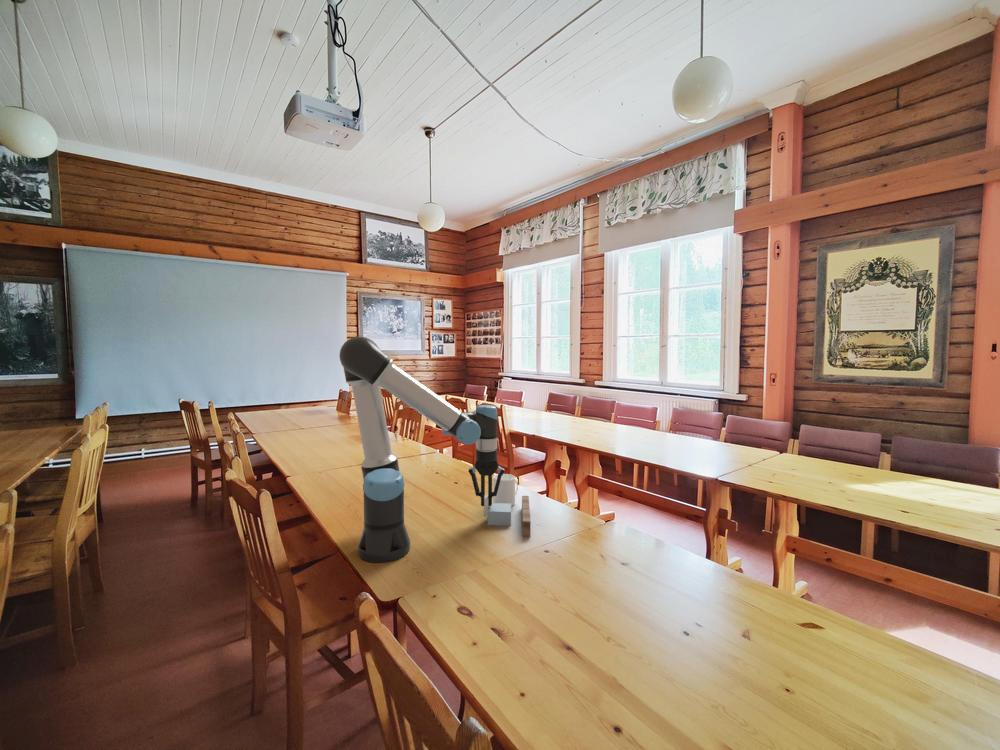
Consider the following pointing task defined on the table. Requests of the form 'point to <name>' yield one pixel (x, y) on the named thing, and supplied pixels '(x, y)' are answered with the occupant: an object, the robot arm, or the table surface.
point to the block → (499, 514)
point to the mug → (505, 489)
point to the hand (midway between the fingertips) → (486, 514)
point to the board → (525, 516)
